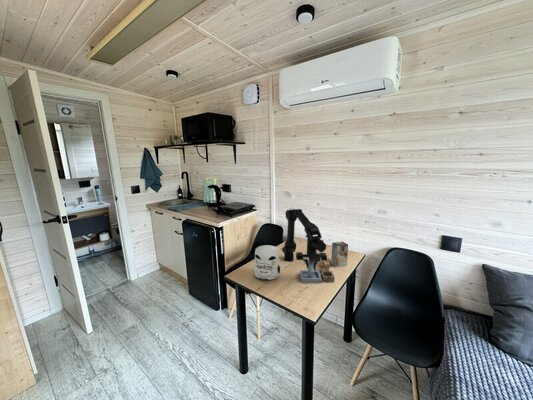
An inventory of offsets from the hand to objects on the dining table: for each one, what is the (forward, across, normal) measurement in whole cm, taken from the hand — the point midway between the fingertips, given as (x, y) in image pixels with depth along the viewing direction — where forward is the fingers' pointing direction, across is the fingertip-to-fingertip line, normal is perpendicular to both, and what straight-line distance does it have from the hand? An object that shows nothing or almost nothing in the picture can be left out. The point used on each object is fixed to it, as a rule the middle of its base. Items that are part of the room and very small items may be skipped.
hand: (310, 268), depth 138 cm
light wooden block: (+7, +12, +11) cm, 18 cm away
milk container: (+7, -28, +2) cm, 29 cm away
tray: (+7, 0, 0) cm, 7 cm away
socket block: (+7, +10, 0) cm, 12 cm away
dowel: (+5, 0, 0) cm, 5 cm away
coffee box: (+7, +23, +19) cm, 31 cm away
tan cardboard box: (+7, +8, +11) cm, 15 cm away
